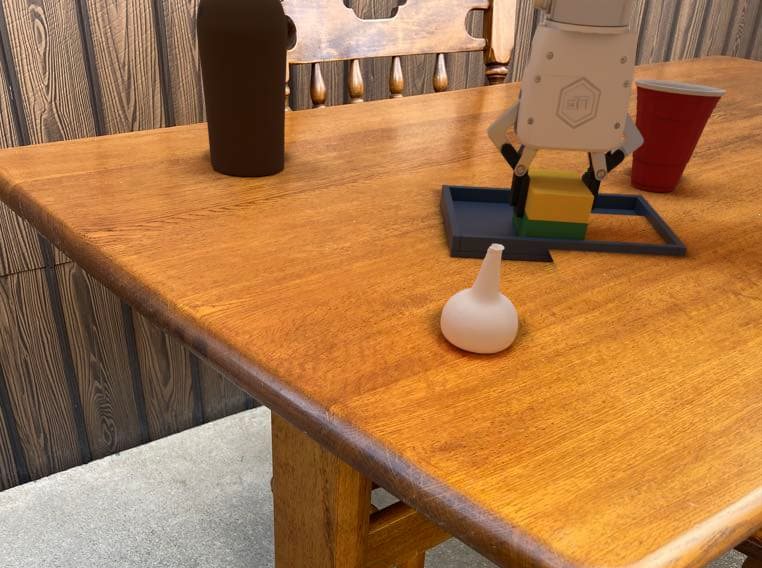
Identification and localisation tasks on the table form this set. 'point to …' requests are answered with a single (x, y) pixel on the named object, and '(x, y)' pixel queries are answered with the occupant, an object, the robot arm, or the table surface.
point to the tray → (495, 226)
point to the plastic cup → (668, 130)
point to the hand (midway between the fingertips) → (549, 213)
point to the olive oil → (244, 83)
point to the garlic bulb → (481, 311)
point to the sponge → (555, 206)
